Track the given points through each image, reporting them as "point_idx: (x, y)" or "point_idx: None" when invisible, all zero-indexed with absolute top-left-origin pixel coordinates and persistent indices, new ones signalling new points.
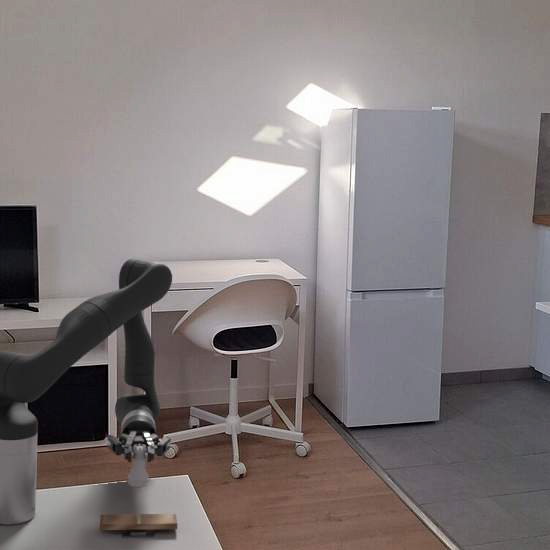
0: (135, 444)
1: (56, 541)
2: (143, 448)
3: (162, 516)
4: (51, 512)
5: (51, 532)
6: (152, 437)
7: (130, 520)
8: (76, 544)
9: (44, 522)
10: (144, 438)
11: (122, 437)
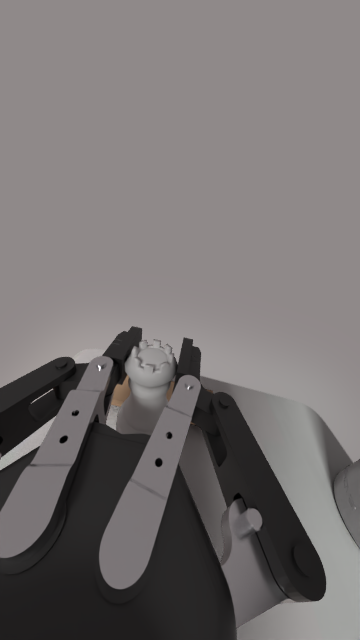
0: (164, 365)
1: (258, 399)
2: (145, 343)
3: (116, 390)
4: (316, 532)
5: (274, 426)
6: (4, 482)
7: (168, 390)
8: (233, 386)
9: (302, 471)
10: (83, 448)
11: (209, 547)
